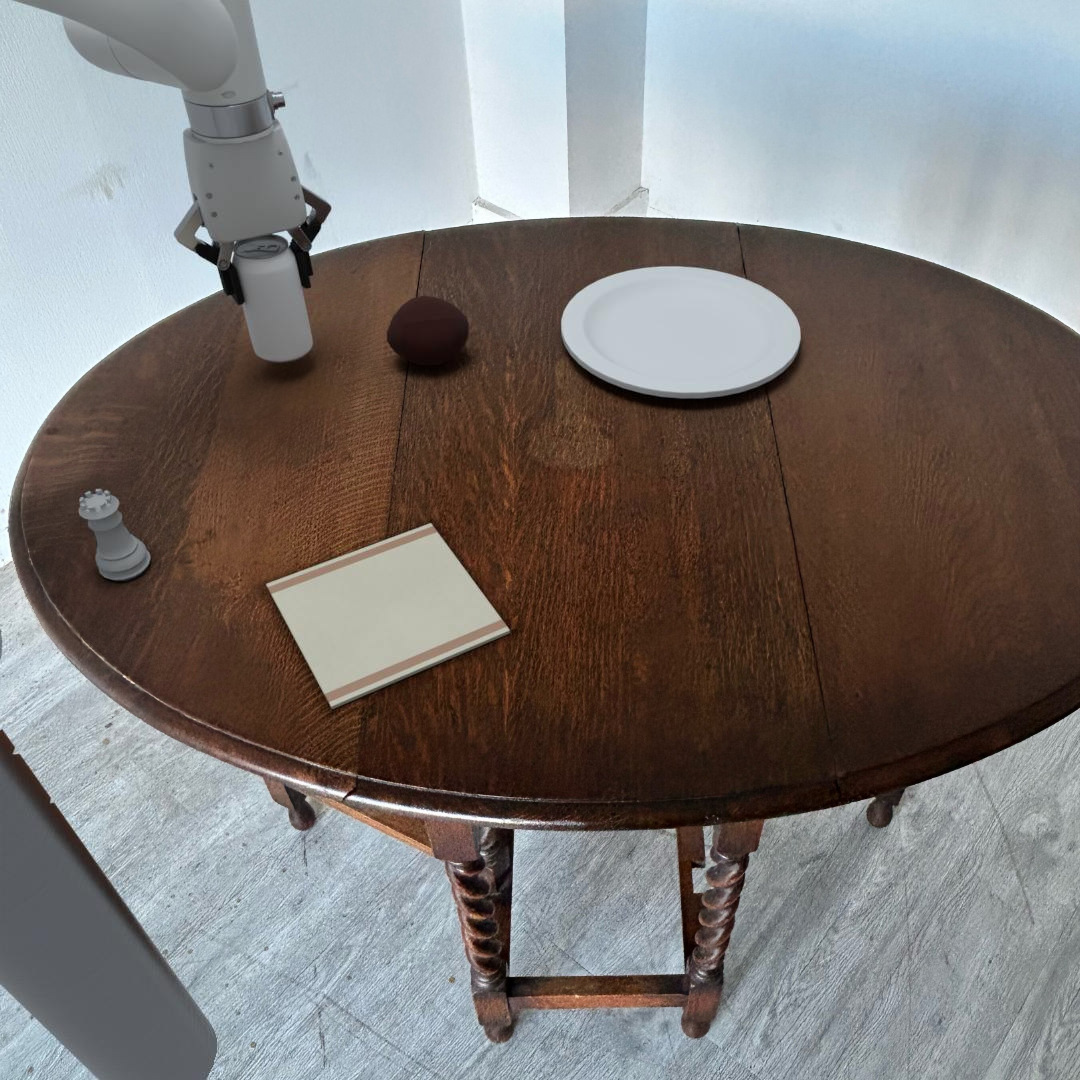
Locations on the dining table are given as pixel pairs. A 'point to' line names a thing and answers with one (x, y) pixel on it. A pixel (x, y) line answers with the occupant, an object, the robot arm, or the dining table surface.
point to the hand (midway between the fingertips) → (270, 289)
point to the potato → (428, 331)
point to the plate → (680, 332)
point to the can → (272, 298)
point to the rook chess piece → (113, 538)
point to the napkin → (384, 613)
